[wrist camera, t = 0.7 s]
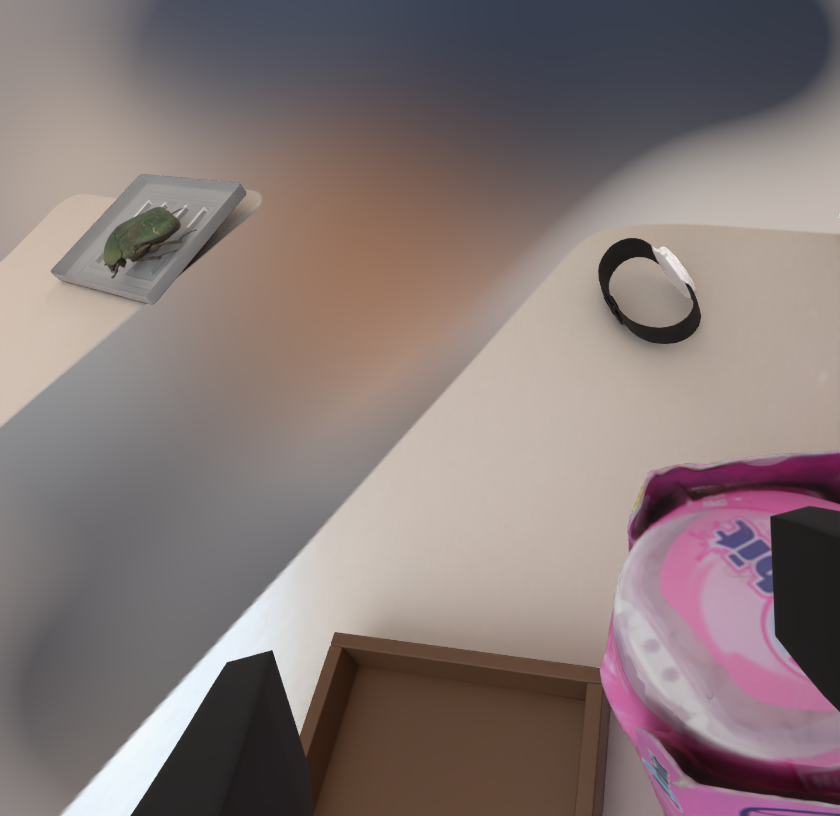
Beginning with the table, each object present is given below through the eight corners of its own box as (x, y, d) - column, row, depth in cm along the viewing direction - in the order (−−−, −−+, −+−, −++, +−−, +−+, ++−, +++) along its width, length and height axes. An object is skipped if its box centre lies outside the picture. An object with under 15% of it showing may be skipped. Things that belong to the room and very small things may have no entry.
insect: (105, 259, 62) (82, 237, 60) (186, 206, 62) (166, 182, 60) (117, 293, 59) (94, 271, 57) (202, 238, 59) (182, 214, 57)
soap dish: (165, 318, 58) (257, 205, 63) (144, 296, 56) (241, 182, 61) (70, 291, 67) (157, 194, 72) (49, 271, 65) (140, 173, 70)
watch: (724, 329, 37) (725, 281, 35) (645, 366, 38) (640, 321, 35) (652, 254, 43) (648, 206, 40) (582, 287, 43) (574, 242, 40)
